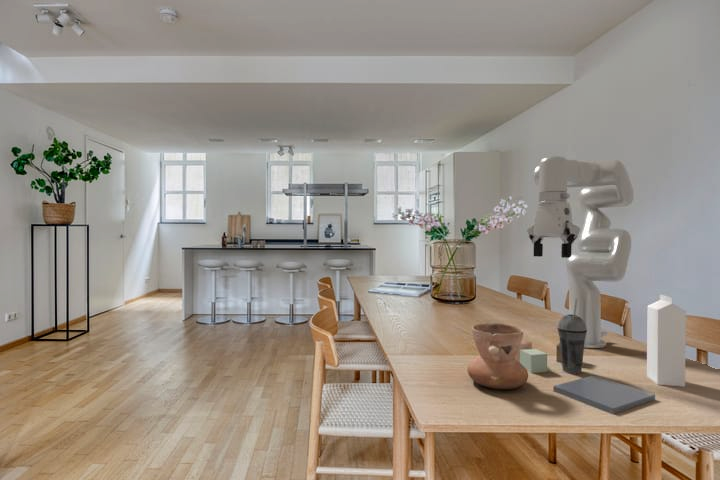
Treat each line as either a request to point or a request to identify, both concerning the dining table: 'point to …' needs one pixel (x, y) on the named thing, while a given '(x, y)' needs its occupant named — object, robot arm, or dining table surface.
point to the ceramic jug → (497, 356)
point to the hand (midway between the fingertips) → (551, 256)
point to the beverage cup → (572, 342)
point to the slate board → (604, 394)
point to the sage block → (533, 360)
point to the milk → (666, 342)
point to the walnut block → (558, 354)
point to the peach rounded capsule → (523, 348)
